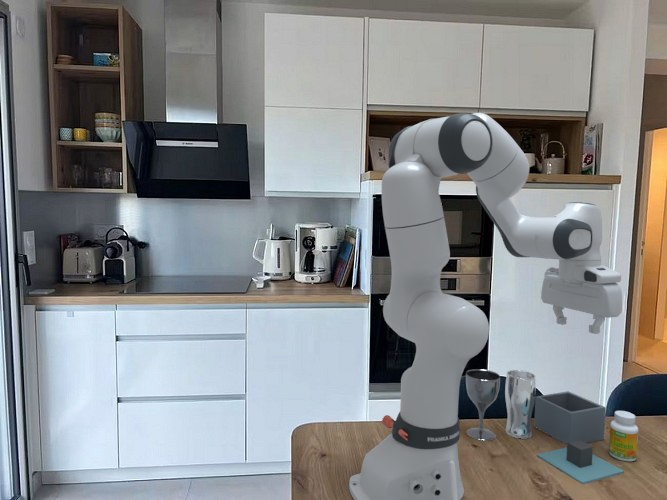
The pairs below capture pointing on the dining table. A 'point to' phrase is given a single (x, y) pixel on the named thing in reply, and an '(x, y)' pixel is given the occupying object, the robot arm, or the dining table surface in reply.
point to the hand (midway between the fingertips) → (577, 328)
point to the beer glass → (519, 402)
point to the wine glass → (482, 398)
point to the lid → (580, 462)
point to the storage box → (569, 417)
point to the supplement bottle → (623, 436)
